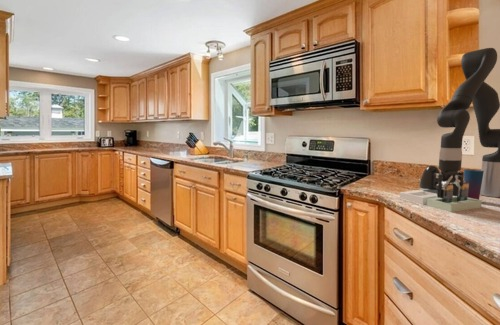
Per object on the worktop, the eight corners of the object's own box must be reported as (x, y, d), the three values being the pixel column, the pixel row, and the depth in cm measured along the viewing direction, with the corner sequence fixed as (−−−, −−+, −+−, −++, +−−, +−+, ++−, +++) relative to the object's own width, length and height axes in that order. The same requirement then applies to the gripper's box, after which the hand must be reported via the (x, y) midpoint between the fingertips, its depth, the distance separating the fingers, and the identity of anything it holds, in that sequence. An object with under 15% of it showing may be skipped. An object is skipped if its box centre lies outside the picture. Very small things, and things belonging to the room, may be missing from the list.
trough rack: (455, 202, 121) (456, 195, 120) (480, 208, 111) (481, 200, 111) (426, 206, 115) (427, 198, 115) (450, 213, 106) (451, 204, 105)
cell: (445, 205, 114) (446, 181, 113) (454, 207, 111) (455, 182, 110) (439, 206, 113) (440, 182, 112) (448, 208, 110) (449, 183, 109)
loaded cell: (460, 203, 117) (461, 180, 116) (469, 205, 114) (471, 181, 112) (454, 204, 116) (455, 180, 115) (463, 206, 112) (465, 182, 111)
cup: (461, 199, 126) (464, 168, 124) (480, 201, 122) (483, 169, 120) (461, 202, 121) (464, 170, 119) (481, 205, 116) (484, 171, 115)
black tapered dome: (422, 196, 134) (424, 166, 132) (416, 191, 144) (417, 164, 142) (445, 197, 131) (448, 166, 129) (437, 192, 141) (439, 164, 139)
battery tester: (426, 196, 134) (427, 188, 134) (451, 201, 123) (452, 193, 122) (399, 199, 128) (400, 191, 128) (422, 205, 117) (423, 197, 117)
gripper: (452, 157, 115) (450, 193, 117) (429, 158, 111) (426, 196, 113) (472, 158, 108) (468, 197, 110) (447, 160, 104) (444, 200, 106)
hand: (447, 196), depth 111 cm, fingers open, 8 cm apart
